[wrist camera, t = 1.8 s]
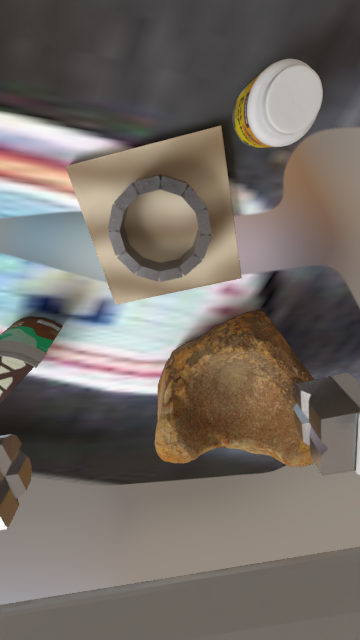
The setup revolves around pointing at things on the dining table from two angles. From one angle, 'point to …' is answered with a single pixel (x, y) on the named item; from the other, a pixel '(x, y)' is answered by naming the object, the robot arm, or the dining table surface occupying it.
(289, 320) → the dining table surface
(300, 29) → the dining table surface
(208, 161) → the birch board
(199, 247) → the grey segmented ring
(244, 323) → the rough brown rock
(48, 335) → the food container
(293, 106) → the supplement bottle
